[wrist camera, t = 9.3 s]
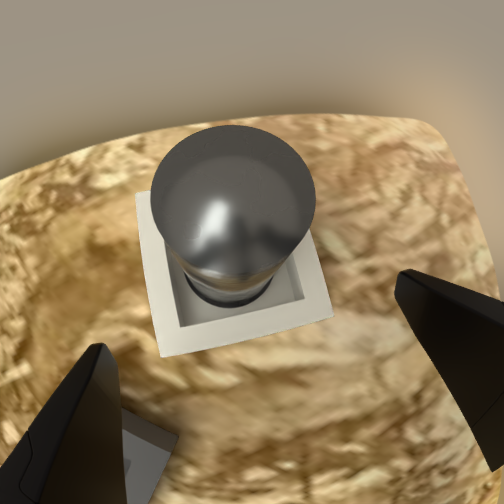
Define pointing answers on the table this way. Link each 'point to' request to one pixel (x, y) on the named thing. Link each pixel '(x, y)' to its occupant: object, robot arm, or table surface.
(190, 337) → the tray
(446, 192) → the table surface
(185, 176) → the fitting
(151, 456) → the block
